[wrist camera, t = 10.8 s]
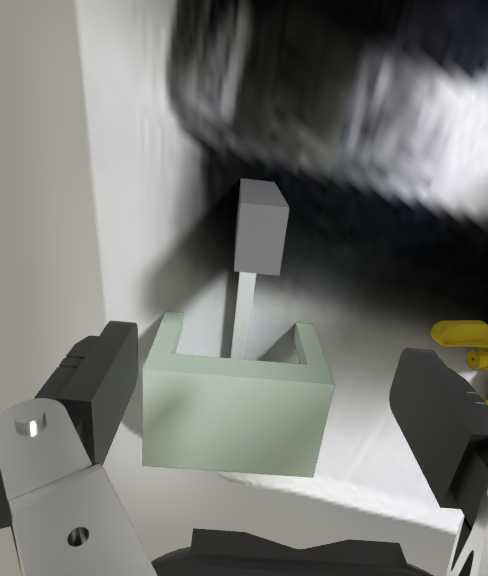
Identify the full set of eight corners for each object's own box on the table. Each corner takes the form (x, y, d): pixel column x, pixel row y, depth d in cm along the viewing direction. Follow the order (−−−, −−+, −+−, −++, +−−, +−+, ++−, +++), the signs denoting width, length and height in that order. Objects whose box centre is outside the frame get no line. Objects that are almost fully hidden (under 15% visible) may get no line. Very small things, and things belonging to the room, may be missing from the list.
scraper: (299, 184, 28) (325, 211, 19) (271, 371, 34) (280, 452, 26) (215, 175, 27) (204, 198, 19) (201, 365, 34) (188, 445, 25)
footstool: (313, 324, 32) (334, 384, 25) (297, 402, 35) (313, 477, 28) (165, 311, 31) (142, 369, 24) (163, 392, 35) (142, 465, 27)
